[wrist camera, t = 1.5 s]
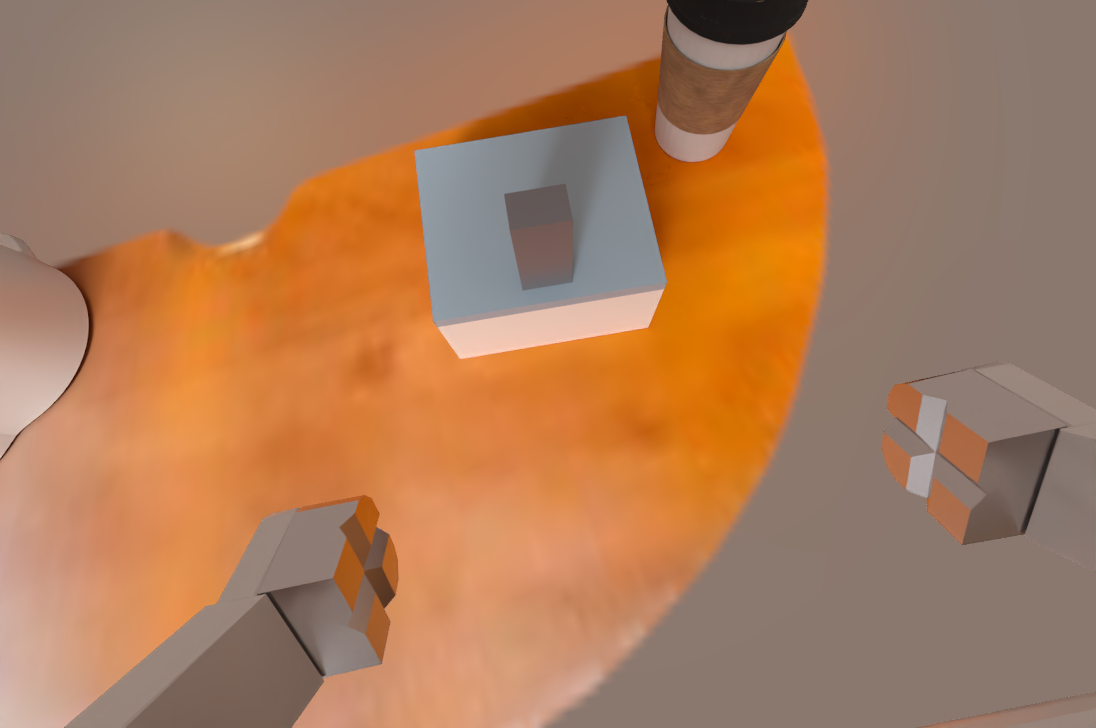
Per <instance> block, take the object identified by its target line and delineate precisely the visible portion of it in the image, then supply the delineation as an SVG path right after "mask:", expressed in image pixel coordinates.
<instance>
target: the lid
mask: <svg viewBox="0 0 1096 728" xmlns="http://www.w3.org/2000/svg"><path fill="white" fill-rule="evenodd" d="M415 160H416V169H417V178H418V188H419V197H420V206H421V215H422V224H423V233H424V242H425V251H426V260H427V269H428V278H429V287H430V296H431V305H432V314H433V322H434V323H435V325H436V326H437V327H441V326H447V325H453V324H459V323H465V322H471V321H477V320H483V319H489V318H495V317H501V316H507V315H513V314H519V313H525V312H531V311H537V310H543V309H549V308H555V307H561V306H566V305H572V304H578V303H584V302H590V301H596V300H602V299H608V298H614V297H620V296H626V295H632V294H638V293H644V292H650V291H656V290H662V289H664V288H665V286H666V284H667V280H666V276H665V272H664V268H663V264H662V260H661V256H660V251H659V247H658V243H657V239H656V235H655V231H654V227H653V223H652V219H651V215H650V211H649V206H648V202H647V198H646V194H645V190H644V186H643V182H642V178H641V174H640V170H639V166H638V162H637V157H636V153H635V149H634V145H633V141H632V137H631V133H630V129H629V125H628V121H627V117H626V116H620V117H614V118H608V119H602V120H596V121H590V122H584V123H578V124H572V125H566V126H560V127H554V128H548V129H542V130H536V131H530V132H524V133H518V134H512V135H506V136H500V137H494V138H488V139H482V140H476V141H470V142H464V143H458V144H452V145H446V146H440V147H434V148H428V149H422V150H416V151H415Z"/></svg>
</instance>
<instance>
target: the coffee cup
mask: <svg viewBox="0 0 1096 728" xmlns="http://www.w3.org/2000/svg"><path fill="white" fill-rule="evenodd" d="M807 2H808V0H667V3H668V6H667V10H666V13H665V17H664V31H663V41H662V53H661V65H660V77H659V89H658V104H657V112H656V121H655V136H656V139H657V142H658V144H659V145H660V147H661V148H662V149H663V150H664V151H665V152H666V153H667V154H668V155H670V156H671V157H673V158H676V159H678V160H681V161H686V162H699V161H703V160H707V159H709V158H711V157H713V156H714V155H716V154H717V153H718V152H719V151H720V150H721V149H722V148H723V147H724V145H725V143H726V141H727V140H728V138H729V136H730V134H731V132H732V130H733V128H734V126H735V125H736V123H737V121H738V119H739V118H740V117H741V115H742V113H743V111H744V110H745V108H746V106H747V105H748V103H749V101H750V99H751V98H752V96H753V94H754V92H755V91H756V89H757V87H758V86H759V84H760V82H761V80H762V79H763V77H764V75H765V73H766V72H767V70H768V68H769V67H770V65H771V63H772V61H773V60H774V58H775V56H776V54H777V53H778V51H779V49H780V48H781V46H782V44H783V42H784V40H785V37H786V32H787V30H788V29H790V28H791V27H792V26H793V25H794V24H795V23H796V22H797V21H798V20H799V18H800V17H801V16H802V14H803V12H804V10H805V8H806V5H807Z"/></svg>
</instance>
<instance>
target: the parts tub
mask: <svg viewBox="0 0 1096 728" xmlns="http://www.w3.org/2000/svg"><path fill="white" fill-rule="evenodd" d="M663 291H664V289H662V290H656V291H650V292H644V293H638V294H632V295H626V296H620V297H614V298H608V299H602V300H596V301H590V302H584V303H578V304H572V305H566V306H561V307H555V308H549V309H543V310H537V311H531V312H525V313H519V314H513V315H507V316H501V317H495V318H489V319H483V320H477V321H471V322H465V323H459V324H453V325H447V326H441V327H438V329H439V330H440V332H441V333H442V334H443V336H444V337H445V338H446V340H447V341H448V343H449V344H450V345H451V347H452V348H453V350H454V351H455V352H456V354H457V355H458V357H459V358H460V359H464V358H470V357H476V356H482V355H488V354H494V353H500V352H506V351H512V350H517V349H523V348H529V347H535V346H541V345H547V344H553V343H559V342H565V341H571V340H577V339H583V338H589V337H595V336H601V335H607V334H613V333H619V332H624V331H630V330H636V329H642V328H648V326H649V324H650V322H651V319H652V317H653V315H654V312H655V310H656V307H657V305H658V303H659V300H660V298H661V295H662V293H663Z"/></svg>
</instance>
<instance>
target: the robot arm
mask: <svg viewBox="0 0 1096 728" xmlns="http://www.w3.org/2000/svg"><path fill="white" fill-rule="evenodd" d="M88 331H89V319H88V312H87V307H86V304H85V301H84V298H83V296H82V294H81V292H80V290H79V289H78V287H77V286H76V285H75V283H74V282H73V281H72V280H71V279H70V278H69V277H68V276H66V275H65V274H64V273H62V272H61V271H59V270H57V269H55V268H53V267H51V266H49V265H47V264H44V263H42V262H40V261H39V260H38V259H36V257H35V256H34V254H33V253H32V251H31V250H30V248H29V247H28V246H27V245H26V244H25V243H24V242H23V241H22V240H20V239H18V238H16V237H13V236H10V235H8V234H0V458H1V457H2V455H3V454H4V453H5V451H6V450H7V448H8V447H9V446H10V444H11V443H12V441H13V440H14V438H15V437H16V435H17V434H18V433H19V432H20V431H21V430H22V429H23V428H25V427H26V426H27V425H28V424H30V423H31V422H32V421H33V420H35V419H36V418H37V417H39V416H40V415H41V414H42V413H43V412H45V411H46V410H47V409H48V408H49V407H50V406H51V405H52V404H53V403H54V402H55V401H56V400H57V399H58V398H59V396H60V395H61V394H62V393H63V392H64V390H65V389H66V388H67V386H68V385H69V383H70V382H71V380H72V379H73V377H74V375H75V373H76V372H77V369H78V367H79V365H80V363H81V361H82V358H83V355H84V352H85V348H86V345H87V339H88ZM887 409H888V410H889V411H890V412H891V414H892V415H893V416H894V417H895V418H894V419H893V420H892V422H891V423H890V424H889V425H888V427H887V428H886V429H885V430H884V431H883V442H882V451H883V455H884V458H885V461H886V465H887V467H888V469H889V470H890V472H891V473H892V475H893V477H894V478H895V479H896V480H897V481H898V482H899V483H900V484H901V486H902V487H903V488H904V489H905V490H907V491H910V492H912V493H915V494H917V495H919V496H922V497H925V498H927V512H928V513H929V514H930V515H932V516H933V517H934V518H935V519H936V520H937V521H938V522H939V523H940V524H941V525H942V526H943V527H944V528H945V529H946V530H947V531H948V532H949V533H950V534H951V535H952V536H953V537H954V538H955V539H956V540H957V541H958V542H959V543H960V544H961V545H967V544H973V543H978V542H984V541H990V540H995V539H1001V538H1007V537H1012V536H1018V535H1024V534H1025V536H1024V538H1026V539H1028V540H1030V541H1032V542H1034V543H1036V544H1039V545H1040V546H1042V547H1045V548H1047V549H1049V550H1051V551H1053V552H1055V553H1057V554H1059V555H1061V556H1063V557H1065V558H1067V559H1069V560H1071V561H1073V562H1075V563H1077V564H1080V565H1081V566H1083V567H1086V568H1088V569H1090V570H1092V571H1094V572H1096V410H1095V409H1093V408H1091V407H1089V406H1088V405H1086V404H1084V403H1082V402H1080V401H1078V400H1077V399H1075V398H1073V397H1071V396H1069V395H1067V394H1065V393H1063V392H1062V391H1060V390H1058V389H1056V388H1054V387H1053V386H1051V385H1049V384H1047V383H1045V382H1043V381H1041V380H1040V379H1038V378H1036V377H1034V376H1032V375H1030V374H1028V373H1027V372H1025V371H1023V370H1021V369H1019V368H1017V367H1015V366H1014V365H1012V364H1009V363H1004V362H998V361H996V362H991V363H987V364H983V365H978V366H974V367H970V368H966V369H962V370H961V371H957V372H952V373H947V374H943V375H938V376H933V377H929V378H924V379H919V380H915V381H910V382H905V383H901V384H896V385H894V387H893V388H892V390H891V391H890V393H889V396H888V402H887ZM378 518H379V512H378V510H377V508H376V506H375V504H374V502H373V500H372V498H370V497H367V496H365V495H363V496H358V497H352V498H347V499H342V500H336V501H331V502H325V503H320V504H315V505H309V506H304V507H302V508H295V509H290V510H285V511H280V512H275V513H271V514H269V515H268V516H266V517H265V518H263V519H262V521H261V523H260V525H259V526H258V528H257V530H256V532H255V534H254V536H253V538H252V539H251V541H250V543H249V545H248V547H247V549H246V551H245V552H244V554H243V556H242V558H241V560H240V562H239V563H238V565H237V567H236V569H235V571H234V573H233V575H232V576H231V578H230V580H229V582H228V584H227V586H226V587H225V589H224V591H223V593H222V595H221V597H220V599H219V600H218V602H217V604H214V605H209V606H205V607H204V608H203V609H202V610H201V611H200V612H198V613H197V614H196V615H195V616H194V617H193V618H191V619H190V620H189V621H188V622H187V623H186V624H184V625H183V626H182V627H181V628H180V629H179V630H177V631H176V632H175V633H174V634H173V635H172V636H170V637H169V638H168V639H167V640H166V641H165V642H163V643H162V644H161V645H160V646H159V647H158V648H156V649H155V650H154V651H153V652H152V653H151V654H149V655H148V656H147V657H146V658H145V659H143V660H142V661H141V662H140V663H139V664H138V665H136V666H135V667H134V668H133V669H132V670H131V671H129V672H128V673H127V674H126V675H125V676H124V677H122V678H121V679H120V680H119V681H118V682H117V683H115V684H114V685H113V686H112V687H111V688H110V689H108V690H107V691H106V692H105V693H104V694H103V695H101V696H100V697H99V698H98V699H97V700H96V701H94V702H93V703H92V704H91V705H90V706H89V707H87V708H86V709H85V710H84V711H83V712H82V713H80V714H79V715H78V716H77V717H76V718H75V719H73V720H72V721H71V722H70V723H69V724H68V725H66V726H65V727H64V728H292V726H293V725H294V723H295V722H296V720H297V719H298V718H299V716H300V715H301V713H302V712H303V711H304V709H305V708H306V706H307V705H308V703H309V702H310V701H311V699H312V698H313V696H314V695H315V694H316V692H317V691H318V689H319V688H320V686H321V685H322V684H323V682H324V679H323V678H325V677H329V676H333V675H337V674H342V673H346V672H350V671H354V670H359V669H363V668H367V667H371V666H376V665H380V664H382V661H383V656H384V651H385V646H386V641H387V636H388V631H389V626H390V620H389V618H388V616H387V614H386V612H385V610H384V609H385V607H386V606H387V605H388V604H389V603H390V601H391V600H392V599H393V598H394V597H395V595H396V590H397V584H398V559H397V555H396V551H395V547H394V544H393V542H392V540H391V537H390V535H389V534H388V533H386V532H384V531H383V530H381V529H379V528H377V527H376V525H377V521H378ZM915 728H1096V692H1091V693H1086V694H1080V695H1076V696H1070V697H1066V698H1060V699H1055V700H1050V701H1045V702H1041V703H1035V704H1030V705H1025V706H1020V707H1015V708H1010V709H1005V710H1000V711H995V712H990V713H985V714H980V715H976V716H971V717H965V718H960V719H955V720H950V721H945V722H941V723H936V724H930V725H925V726H920V727H915Z"/></svg>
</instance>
